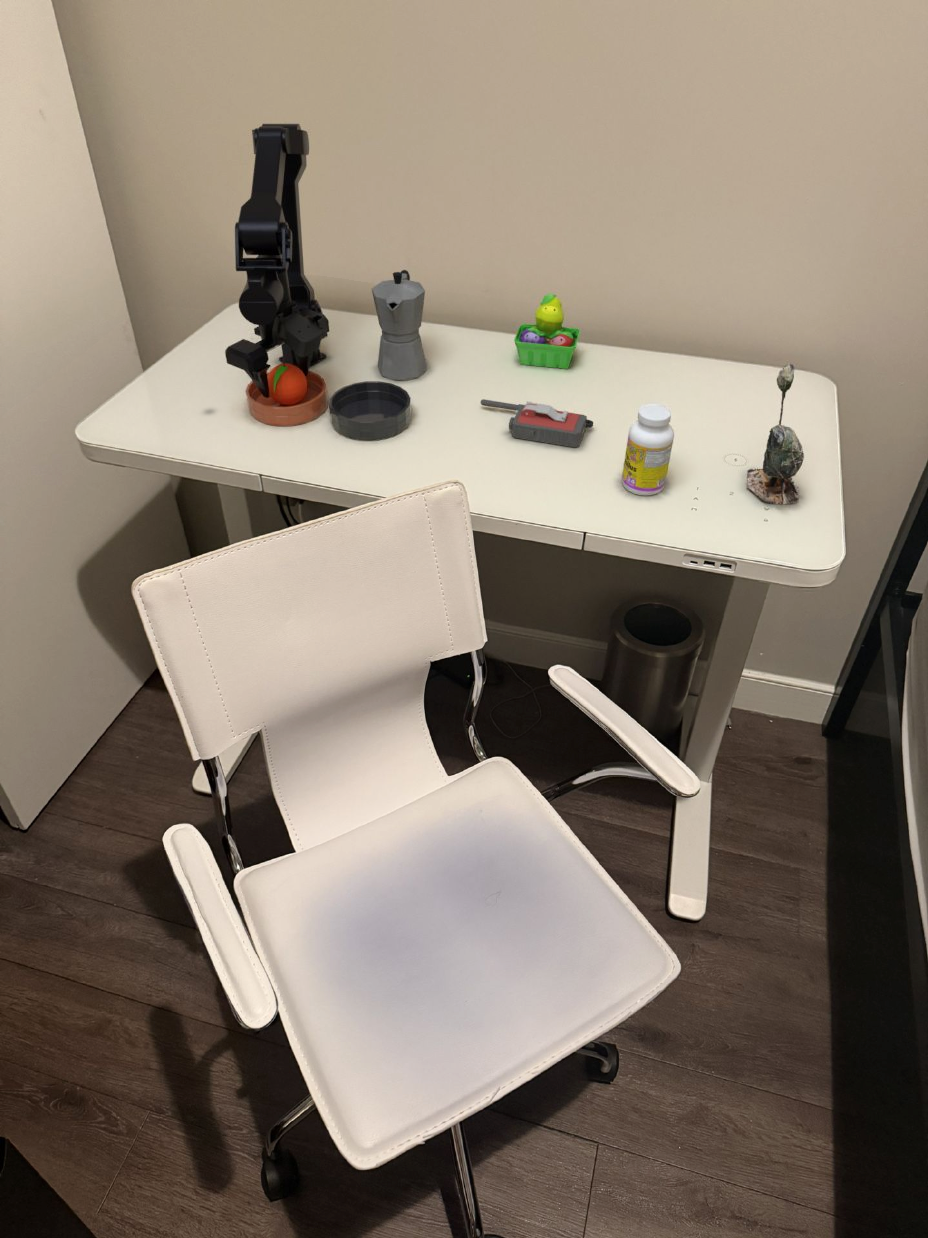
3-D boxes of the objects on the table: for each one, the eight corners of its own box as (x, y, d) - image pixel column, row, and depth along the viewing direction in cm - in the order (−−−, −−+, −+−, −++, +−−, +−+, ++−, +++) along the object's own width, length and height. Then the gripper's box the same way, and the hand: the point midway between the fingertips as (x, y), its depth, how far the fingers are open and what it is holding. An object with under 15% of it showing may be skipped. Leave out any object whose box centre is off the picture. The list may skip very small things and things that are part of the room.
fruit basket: (512, 366, 165) (514, 308, 157) (520, 345, 172) (523, 287, 164) (573, 373, 163) (578, 314, 156) (579, 351, 170) (584, 293, 162)
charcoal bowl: (366, 391, 159) (365, 373, 156) (427, 415, 153) (426, 396, 150) (314, 424, 151) (312, 405, 148) (376, 450, 145) (374, 431, 142)
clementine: (296, 418, 151) (291, 380, 146) (259, 412, 153) (252, 374, 148) (316, 395, 157) (311, 358, 152) (280, 390, 158) (274, 352, 153)
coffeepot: (422, 388, 160) (418, 289, 147) (370, 385, 160) (362, 287, 148) (433, 348, 171) (431, 253, 158) (385, 345, 171) (379, 251, 159)
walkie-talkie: (595, 423, 151) (482, 405, 155) (598, 400, 148) (482, 382, 152) (584, 451, 145) (467, 431, 149) (587, 427, 142) (467, 407, 146)
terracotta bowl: (288, 379, 162) (285, 361, 159) (344, 402, 156) (342, 383, 154) (232, 410, 154) (229, 392, 151) (289, 435, 148) (286, 416, 146)
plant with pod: (742, 509, 133) (773, 388, 119) (745, 468, 141) (776, 350, 127) (798, 518, 131) (837, 396, 118) (799, 476, 139) (835, 357, 125)
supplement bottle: (617, 473, 140) (627, 400, 131) (658, 471, 140) (671, 398, 131) (626, 498, 135) (637, 424, 126) (669, 496, 135) (683, 422, 127)
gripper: (266, 331, 133) (281, 423, 143) (349, 289, 143) (357, 377, 154) (214, 312, 137) (232, 403, 148) (299, 273, 148) (310, 360, 159)
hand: (285, 386), depth 152 cm, fingers open, 9 cm apart
